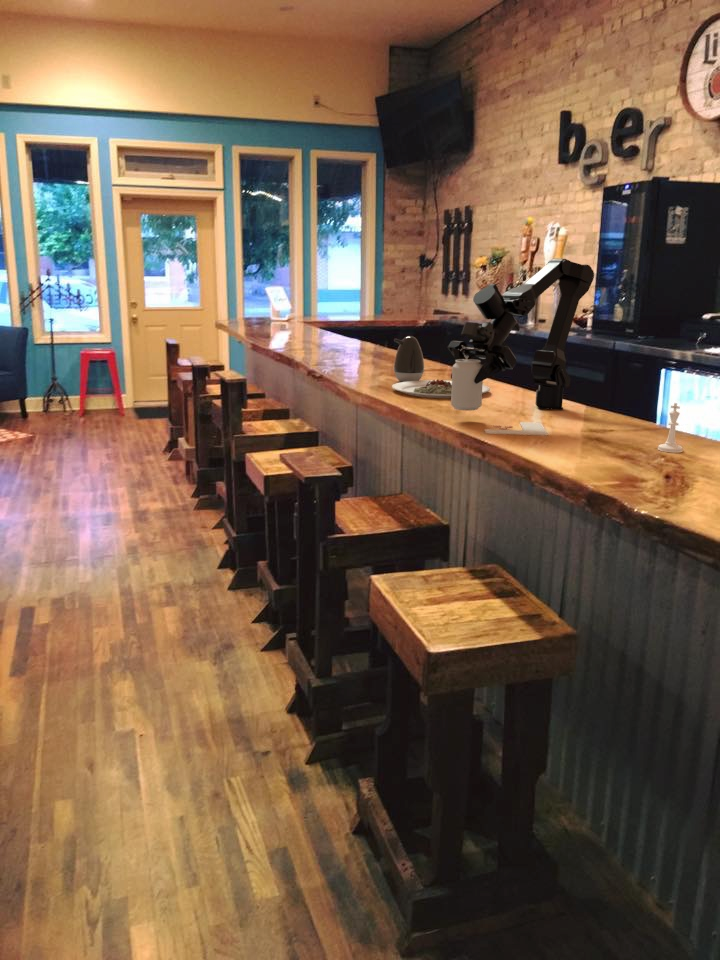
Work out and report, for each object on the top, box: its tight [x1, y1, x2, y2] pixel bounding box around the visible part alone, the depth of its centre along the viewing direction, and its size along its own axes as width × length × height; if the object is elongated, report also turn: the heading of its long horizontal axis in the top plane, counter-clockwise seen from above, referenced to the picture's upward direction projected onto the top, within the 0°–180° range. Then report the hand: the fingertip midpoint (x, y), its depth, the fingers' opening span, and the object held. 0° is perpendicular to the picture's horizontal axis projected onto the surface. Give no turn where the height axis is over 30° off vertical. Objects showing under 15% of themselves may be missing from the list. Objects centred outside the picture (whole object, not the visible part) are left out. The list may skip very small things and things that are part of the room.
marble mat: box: [484, 421, 549, 436], centre depth 184 cm, size 14×14×1 cm
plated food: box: [391, 378, 491, 399], centre depth 238 cm, size 30×30×3 cm
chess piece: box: [657, 402, 684, 454], centre depth 162 cm, size 5×5×10 cm
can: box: [450, 358, 484, 412], centre depth 190 cm, size 8×8×12 cm
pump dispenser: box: [393, 335, 425, 382], centre depth 258 cm, size 10×10×15 cm
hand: (463, 380), depth 189 cm, fingers closed on can, 7 cm apart
